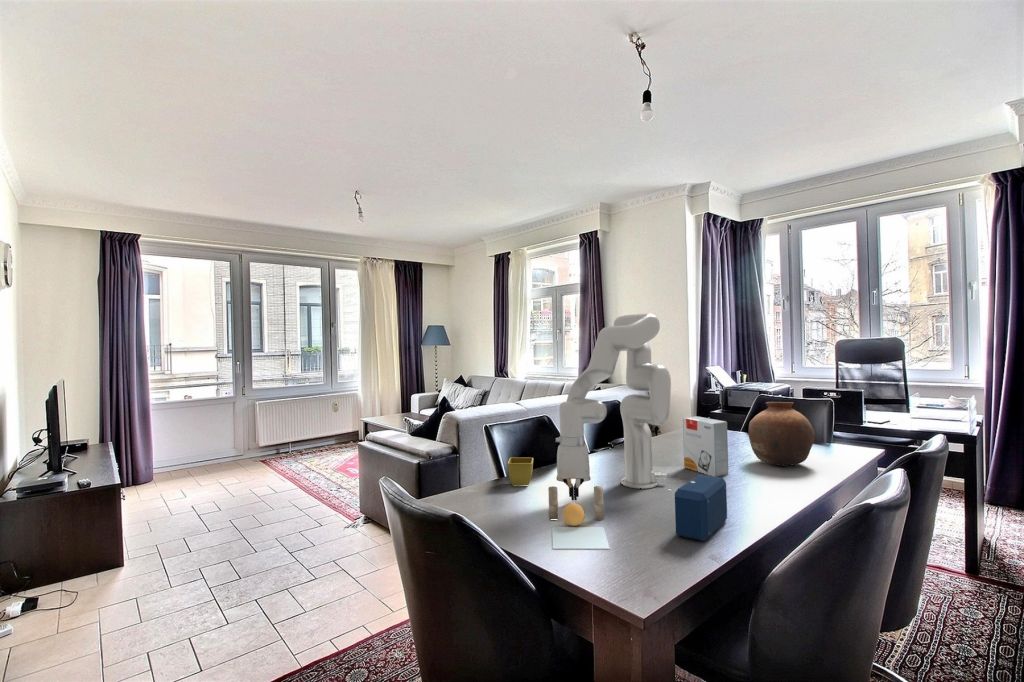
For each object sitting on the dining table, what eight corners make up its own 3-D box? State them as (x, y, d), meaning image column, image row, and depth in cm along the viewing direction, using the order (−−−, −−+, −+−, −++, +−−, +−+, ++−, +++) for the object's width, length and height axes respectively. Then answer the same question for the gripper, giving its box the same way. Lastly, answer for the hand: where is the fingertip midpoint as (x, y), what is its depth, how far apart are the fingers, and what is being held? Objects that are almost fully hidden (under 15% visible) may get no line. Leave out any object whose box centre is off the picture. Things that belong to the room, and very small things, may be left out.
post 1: (558, 517, 144) (557, 486, 144) (558, 520, 142) (557, 489, 142) (549, 517, 145) (548, 486, 145) (549, 520, 142) (548, 489, 142)
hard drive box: (683, 468, 194) (681, 417, 194) (697, 465, 197) (696, 415, 197) (714, 477, 180) (712, 423, 180) (729, 474, 183) (728, 421, 183)
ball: (583, 513, 141) (583, 498, 138) (585, 530, 136) (585, 515, 133) (562, 513, 142) (562, 498, 139) (563, 530, 137) (562, 516, 134)
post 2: (603, 516, 143) (602, 486, 143) (604, 520, 141) (603, 488, 141) (594, 516, 144) (593, 486, 144) (595, 520, 141) (594, 488, 141)
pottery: (781, 474, 181) (779, 406, 181) (736, 460, 203) (734, 400, 203) (830, 468, 187) (827, 402, 187) (781, 455, 209) (779, 396, 209)
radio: (698, 514, 144) (696, 445, 144) (729, 520, 138) (727, 448, 138) (670, 537, 127) (668, 460, 127) (705, 545, 122) (702, 464, 122)
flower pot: (534, 481, 182) (533, 457, 182) (532, 488, 173) (532, 463, 173) (510, 481, 183) (509, 457, 183) (508, 488, 174) (507, 463, 174)
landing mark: (603, 527, 135) (603, 527, 135) (609, 549, 121) (609, 548, 121) (552, 527, 136) (552, 527, 136) (552, 549, 122) (552, 548, 122)
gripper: (548, 444, 152) (550, 503, 152) (597, 443, 151) (599, 502, 151) (548, 439, 160) (550, 495, 160) (595, 438, 159) (596, 495, 159)
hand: (574, 499), depth 156 cm, fingers closed
